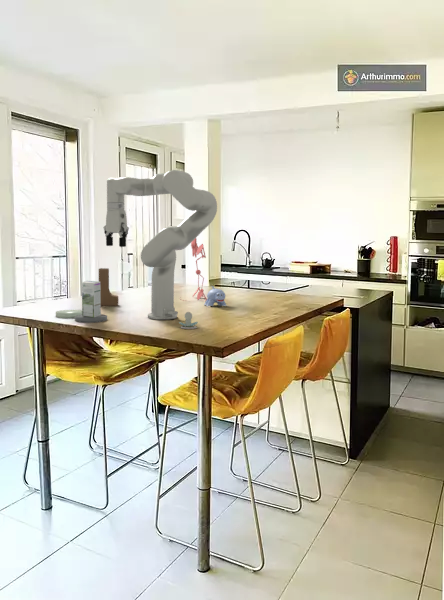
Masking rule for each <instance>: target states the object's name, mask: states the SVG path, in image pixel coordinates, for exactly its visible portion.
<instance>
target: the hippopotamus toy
mask: <svg viewBox="0 0 444 600" xmlns="http://www.w3.org/2000/svg"><path fill="white" fill-rule="evenodd" d="M211 287H212V289H210V290H209V291H208V292H207V294H206V296H207V297H206V299H207V300H206V299H205V302H204V304H203V305H204V306H205V305H206V306H207V308H209V307H208V306H213V307H214V305H215V303H216V304H217V305H218V306H220V307H221V306H227V307H228V305H227V302H226V301H225V299H226V293H225V292H224V290H222V289H220V288H216V287H215V286H213V285H211ZM206 306H205V307H206Z"/></svg>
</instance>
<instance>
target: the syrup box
mask: <svg viewBox="0 0 444 600" xmlns="http://www.w3.org/2000/svg"><path fill="white" fill-rule="evenodd" d="M101 307H102V306H101V288H100V282H99V280H98V281H94V280H85V281H81V310H82V316H83V317H98V316H101V314H102V310H101V309H102V308H101Z"/></svg>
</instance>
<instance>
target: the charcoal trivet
mask: <svg viewBox="0 0 444 600" xmlns="http://www.w3.org/2000/svg"><path fill="white" fill-rule="evenodd" d="M74 321H75V322H78V323H84V324H85V323H86V324H87V323H90V324H91V323H92V324H93V323H102V322H106V321H108V315H107V314H105V313H104V314H102V313H101V316H98V317H83V316H82V314H81V315H77V316H75V318H74Z"/></svg>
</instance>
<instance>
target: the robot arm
mask: <svg viewBox="0 0 444 600" xmlns="http://www.w3.org/2000/svg"><path fill="white" fill-rule="evenodd" d="M125 195H126V196H133V197H148V196H149V197H150V196H160V195H170V196H172V197H173V198H174V199H175V200H176V201H177V202H178V203H179V204H180V205H181V206H182V207H184V208H185V209H187V210H189V211H192V213H191V214H189V215H188V216H186V218H185V219H184V220H183V221H182V222H181V223H180V224H178V225H177V226H168V227H165V228H162V229H161V230H160V231H158V232H157V233H156V234H155V236H153V237H152V238H151V239H150V240H149V241H148V242H147V243H146V245H144V247H142V249H141V252H140V260H141V262H142V264H143V265H144V266H146V267H148V268H152V271H151V296H150V297H151V300H150V301H151V307H150V308H151V310H150V311H151V313H148V314H147V318H148V319H152V320H160V321H161V320H174V319H177V318H178V314H179V312H178V311H176V310H175V309H176V308H175V306H174V305H175V304H174V303H175V299H174V298H175V294H174V293H175V270H176V269H175V268H176V261H177V252H176V251H181V250H184V249H186V248H187V247H188V246H189V245H191V242H192V241H193V240H194V239H195V238H196V239H197V237H198V236H200V234H201V233H202V232H203V231H205V229H207V227H208V226H209V225H210V224H211V223H212V222H213V220H215V217H216V215H217V212H218V203H217V199H216V196H215V195H214V194H213V193H212V192H210V191H209V190H204V189H197V188H195V187H194V178H193V177H192V175H191V174H190V173H188V172H185V171H180V170H178V169H177V170H176V169H172V170H169V171H167V172H166V173H165V172H164V173H156V174H154V176H153V177H150V178H137V177H130V176H123V177H119V178H118V177H109V178H108V179H107V180H106V217H105V225H104V226H103V231H104V234H105V236H104V237H105V244H106V246H107V247H112V246H114V237H113V234H118V235H119V237H118V238H119V239H118V243H119V244H118V245H119V247H120V248H123V247H124V248H126V247H127V237H128V234H129V229H130V227H129V226H128V222H127V212H126V210H125ZM193 211H194V212H193Z"/></svg>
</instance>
